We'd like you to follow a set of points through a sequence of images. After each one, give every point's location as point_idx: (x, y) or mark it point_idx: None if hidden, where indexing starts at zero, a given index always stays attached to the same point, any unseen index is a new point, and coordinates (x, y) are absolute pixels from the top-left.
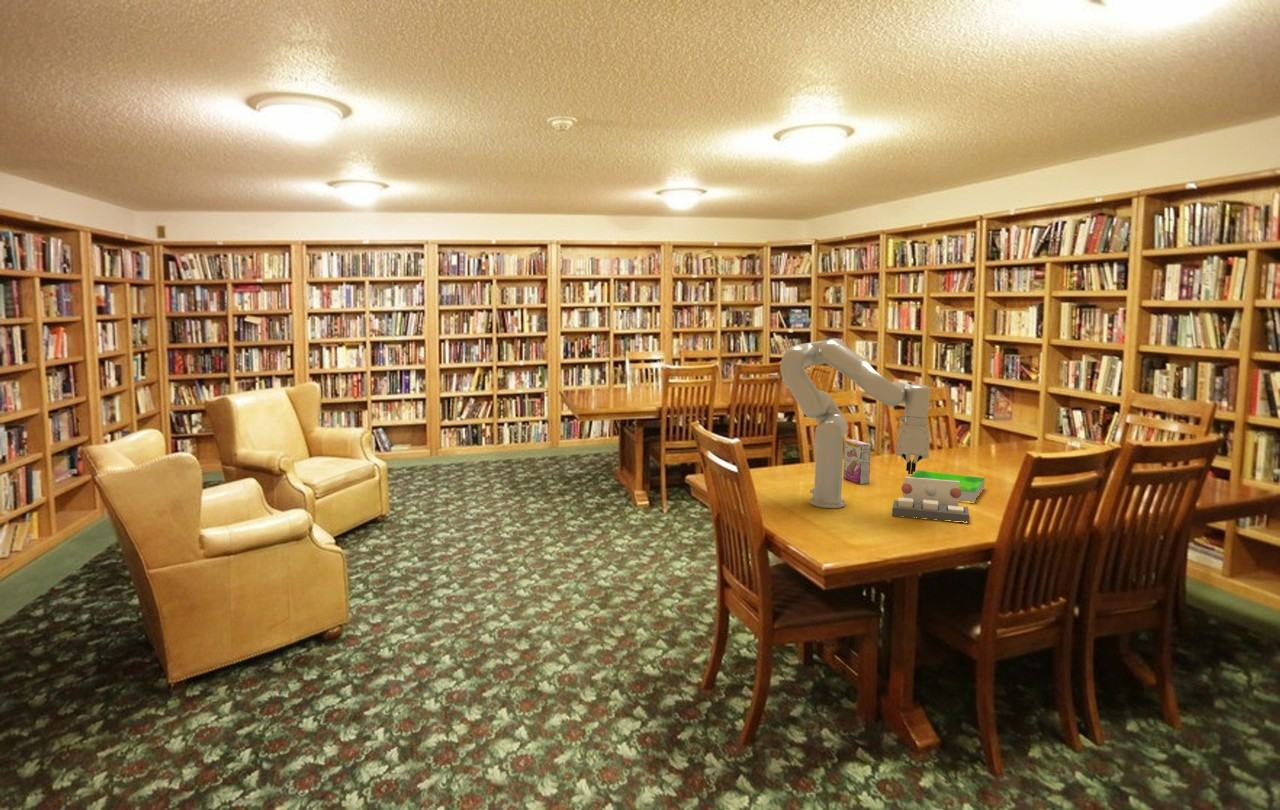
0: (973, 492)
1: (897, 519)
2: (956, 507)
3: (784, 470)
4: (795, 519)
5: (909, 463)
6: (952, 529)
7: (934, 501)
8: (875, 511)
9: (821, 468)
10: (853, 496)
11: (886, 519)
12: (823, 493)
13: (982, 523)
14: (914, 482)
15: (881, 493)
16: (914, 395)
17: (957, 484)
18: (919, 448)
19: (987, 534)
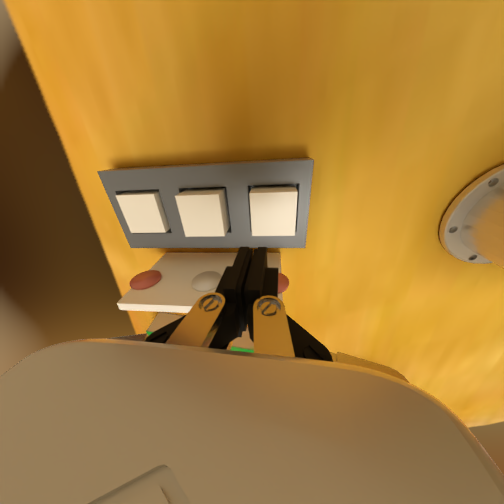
0: (148, 330)
1: (293, 123)
2: (141, 220)
3: (497, 409)
4: None
5: (256, 287)
6: (127, 78)
7: (192, 226)
8: (355, 190)
9: None
10: (391, 300)
11: (329, 103)
12: None
13: (95, 187)
14: None
15: (322, 330)
16: None
17: (127, 297)
18: (21, 476)
19: (34, 70)
